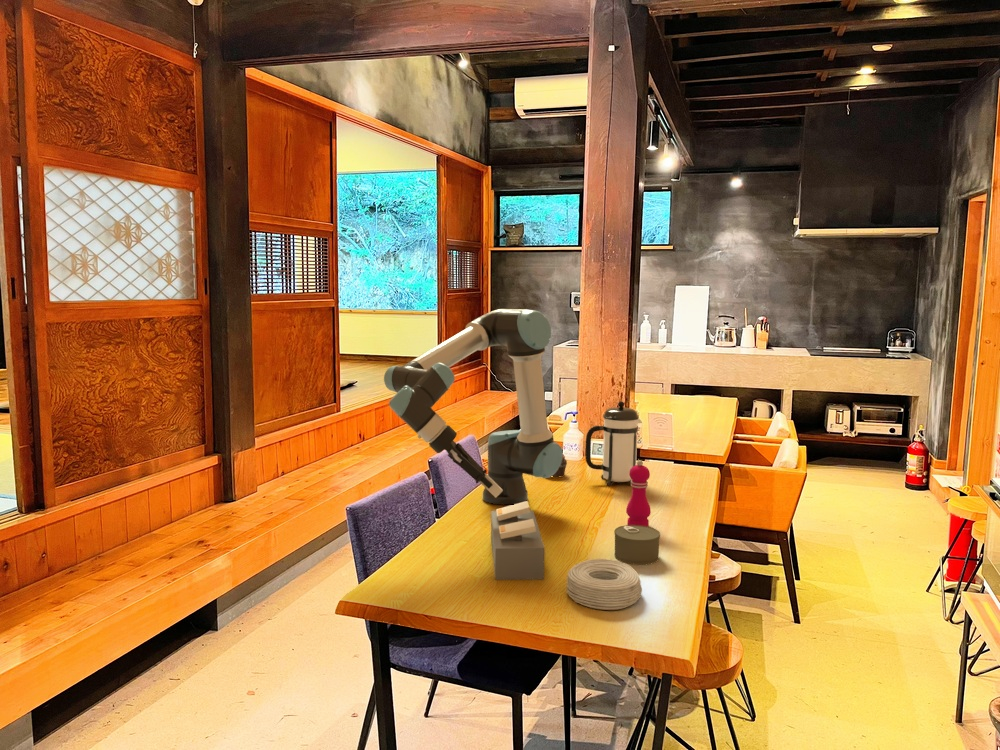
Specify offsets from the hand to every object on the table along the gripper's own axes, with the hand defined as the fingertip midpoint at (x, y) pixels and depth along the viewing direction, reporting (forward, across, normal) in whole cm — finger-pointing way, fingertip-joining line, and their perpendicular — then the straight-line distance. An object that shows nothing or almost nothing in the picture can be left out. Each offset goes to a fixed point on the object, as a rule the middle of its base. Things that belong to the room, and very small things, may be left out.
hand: (499, 493), depth 203 cm
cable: (+27, +32, +5) cm, 43 cm away
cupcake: (+28, -77, +6) cm, 82 cm away
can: (+37, +8, +15) cm, 40 cm away
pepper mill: (+41, -18, +19) cm, 49 cm away
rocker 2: (+7, +15, -1) cm, 17 cm away
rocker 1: (+7, 0, -1) cm, 7 cm away
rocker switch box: (+14, +5, -8) cm, 16 cm away
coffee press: (+44, -66, +21) cm, 82 cm away
